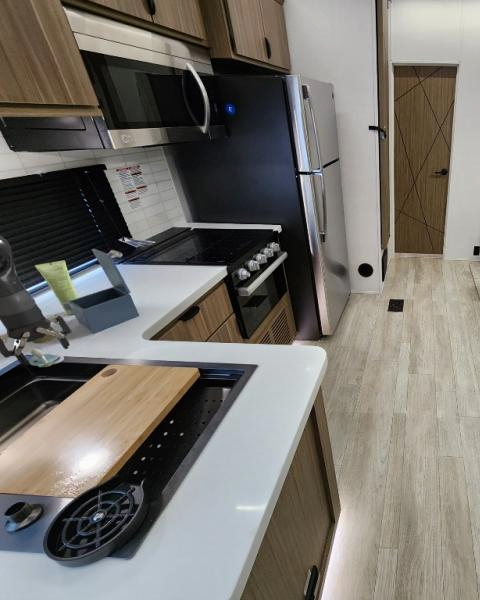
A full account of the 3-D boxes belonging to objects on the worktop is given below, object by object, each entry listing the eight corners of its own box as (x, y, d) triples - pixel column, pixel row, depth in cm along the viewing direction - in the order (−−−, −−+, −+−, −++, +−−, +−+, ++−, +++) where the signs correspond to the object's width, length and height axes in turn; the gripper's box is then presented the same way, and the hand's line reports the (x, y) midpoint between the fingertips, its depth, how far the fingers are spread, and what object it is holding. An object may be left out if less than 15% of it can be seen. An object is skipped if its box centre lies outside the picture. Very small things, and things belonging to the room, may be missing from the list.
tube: (77, 307, 126) (51, 259, 117) (89, 307, 126) (64, 259, 117) (62, 314, 121) (34, 265, 112) (74, 315, 121) (47, 265, 112)
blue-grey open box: (94, 333, 110) (81, 310, 106) (79, 323, 116) (67, 301, 112) (139, 315, 120) (130, 294, 116) (123, 307, 126) (114, 286, 122)
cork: (38, 334, 110) (20, 306, 105) (61, 331, 112) (44, 302, 106) (27, 344, 105) (8, 315, 100) (51, 340, 107) (33, 311, 101)
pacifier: (53, 355, 100) (28, 367, 95) (43, 337, 97) (17, 349, 92) (70, 359, 98) (46, 371, 93) (61, 341, 95) (35, 353, 90)
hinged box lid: (107, 255, 108) (124, 250, 112) (91, 249, 114) (108, 244, 118) (128, 293, 116) (143, 287, 119) (112, 285, 121) (127, 280, 125)
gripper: (45, 293, 95) (73, 339, 103) (-28, 315, 84) (8, 365, 92) (55, 299, 92) (83, 347, 99) (-20, 323, 81) (17, 374, 89)
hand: (47, 355), depth 96 cm, fingers open, 8 cm apart
